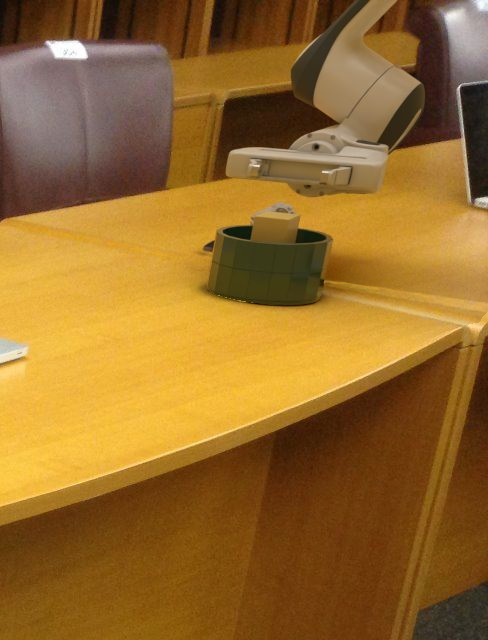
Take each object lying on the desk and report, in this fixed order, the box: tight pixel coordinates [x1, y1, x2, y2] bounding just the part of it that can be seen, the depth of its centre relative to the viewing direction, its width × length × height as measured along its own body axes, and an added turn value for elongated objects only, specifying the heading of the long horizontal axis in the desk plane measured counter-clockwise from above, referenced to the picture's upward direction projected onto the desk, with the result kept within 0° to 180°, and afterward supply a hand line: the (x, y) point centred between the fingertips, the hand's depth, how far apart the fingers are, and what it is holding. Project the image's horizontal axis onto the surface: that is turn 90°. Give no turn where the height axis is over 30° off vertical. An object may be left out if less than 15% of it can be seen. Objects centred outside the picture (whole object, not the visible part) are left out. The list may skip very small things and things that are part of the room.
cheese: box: [250, 211, 302, 244], centre depth 208 cm, size 4×5×10 cm
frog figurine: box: [249, 202, 298, 225], centre depth 238 cm, size 6×7×7 cm
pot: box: [206, 224, 334, 306], centre depth 209 cm, size 15×15×8 cm
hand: (288, 174), depth 205 cm, fingers open, 8 cm apart
